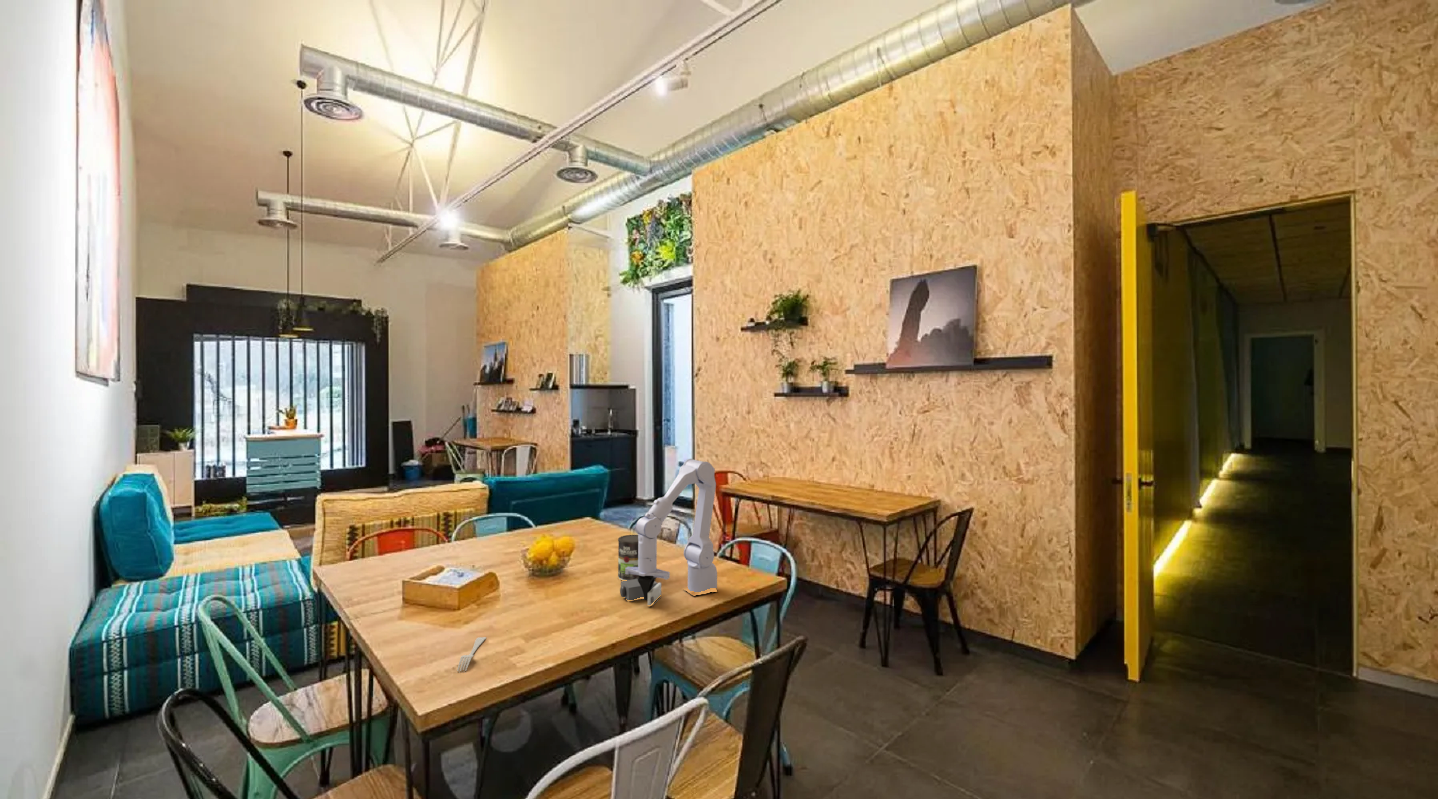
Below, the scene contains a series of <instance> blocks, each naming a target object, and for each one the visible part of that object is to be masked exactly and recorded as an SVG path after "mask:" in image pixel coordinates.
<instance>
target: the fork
mask: <svg viewBox="0 0 1438 799" xmlns="http://www.w3.org/2000/svg"><path fill="white" fill-rule="evenodd" d="M485 640H487V636H484V637H477V638H476V639H475V640H474V644H473V647H472V648H471V651H470V653H469V654H466V655H465V654H464V655H461V656H460V659H459V662H458V666H457V671H458V672H460V671H461V672H462V670H464V672H465V671H466V672H467V671H468V667H469V665H470V662H471V660H472V658H473V657H474V656H475V655H474V654H475V653H476V651H477V650H478V648H479V647H480V646H481V645H482V644H483V642H484V641H485Z"/></svg>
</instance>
